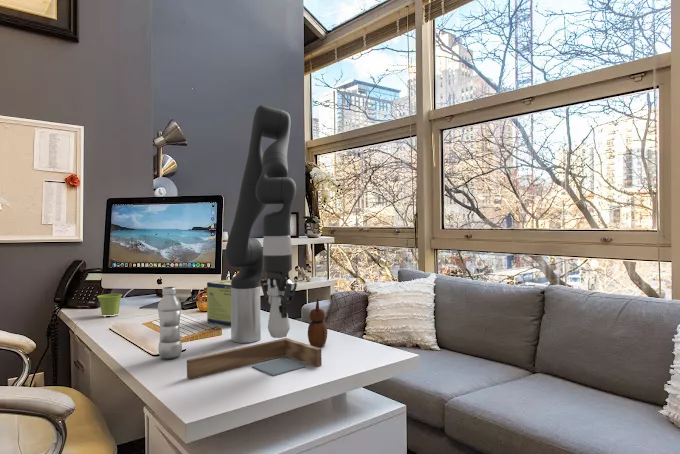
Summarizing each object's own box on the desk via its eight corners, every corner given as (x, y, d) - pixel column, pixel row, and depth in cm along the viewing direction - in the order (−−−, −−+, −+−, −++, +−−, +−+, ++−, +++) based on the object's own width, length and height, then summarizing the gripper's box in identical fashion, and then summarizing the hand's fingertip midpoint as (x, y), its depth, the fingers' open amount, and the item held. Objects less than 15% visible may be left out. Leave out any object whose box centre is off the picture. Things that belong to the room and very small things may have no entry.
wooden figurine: (324, 348, 138) (323, 299, 138) (305, 348, 139) (305, 298, 139) (329, 343, 145) (328, 295, 145) (311, 342, 146) (311, 295, 146)
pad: (251, 367, 122) (251, 366, 122) (282, 359, 128) (282, 358, 128) (273, 376, 114) (273, 374, 114) (305, 367, 121) (305, 366, 121)
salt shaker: (290, 333, 124) (289, 285, 124) (290, 338, 119) (289, 288, 119) (268, 333, 124) (267, 285, 124) (267, 339, 118) (266, 288, 118)
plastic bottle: (159, 362, 127) (158, 290, 127) (157, 356, 133) (155, 287, 133) (184, 359, 130) (182, 288, 130) (180, 353, 136) (179, 285, 136)
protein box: (235, 327, 169) (235, 284, 169) (206, 322, 177) (205, 282, 177) (255, 321, 178) (254, 281, 178) (226, 317, 186) (226, 279, 186)
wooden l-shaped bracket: (187, 377, 114) (186, 359, 114) (286, 353, 134) (285, 337, 134) (218, 395, 102) (217, 375, 102) (321, 365, 122) (321, 348, 122)
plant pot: (92, 318, 188) (91, 297, 188) (107, 313, 198) (107, 293, 197) (113, 318, 187) (112, 297, 187) (127, 314, 196) (127, 293, 196)
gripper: (305, 253, 119) (306, 320, 119) (273, 251, 129) (275, 313, 129) (281, 255, 113) (282, 325, 114) (250, 253, 124) (252, 317, 124)
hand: (278, 318), depth 121 cm, fingers closed on salt shaker, 3 cm apart
